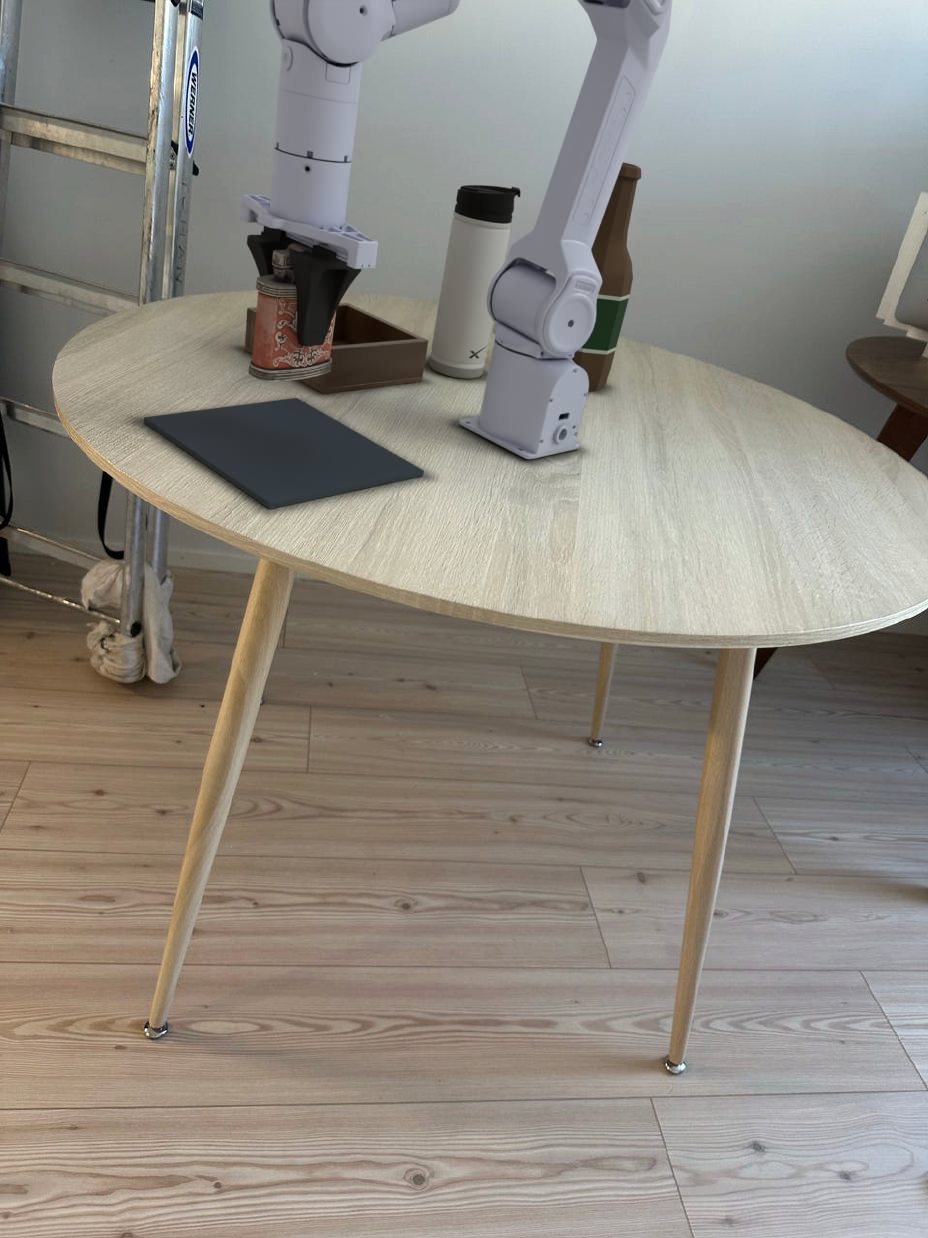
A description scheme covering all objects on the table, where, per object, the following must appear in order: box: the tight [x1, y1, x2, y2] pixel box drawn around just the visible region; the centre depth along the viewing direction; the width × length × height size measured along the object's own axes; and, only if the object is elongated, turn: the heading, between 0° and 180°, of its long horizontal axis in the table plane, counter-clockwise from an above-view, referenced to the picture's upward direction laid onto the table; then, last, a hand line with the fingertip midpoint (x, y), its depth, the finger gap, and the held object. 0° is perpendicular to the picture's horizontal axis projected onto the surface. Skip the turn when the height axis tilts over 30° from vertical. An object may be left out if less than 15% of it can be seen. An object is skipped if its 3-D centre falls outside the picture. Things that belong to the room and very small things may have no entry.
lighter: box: [248, 243, 336, 383], centre depth 79 cm, size 8×3×10 cm, turn 141°
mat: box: [143, 397, 425, 510], centre depth 84 cm, size 18×16×1 cm
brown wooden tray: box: [243, 302, 429, 395], centre depth 105 cm, size 14×14×4 cm
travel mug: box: [428, 184, 521, 380], centre depth 108 cm, size 6×7×20 cm
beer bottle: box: [571, 161, 642, 392], centre depth 112 cm, size 8×8×24 cm
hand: (296, 336), depth 80 cm, fingers closed on lighter, 3 cm apart
